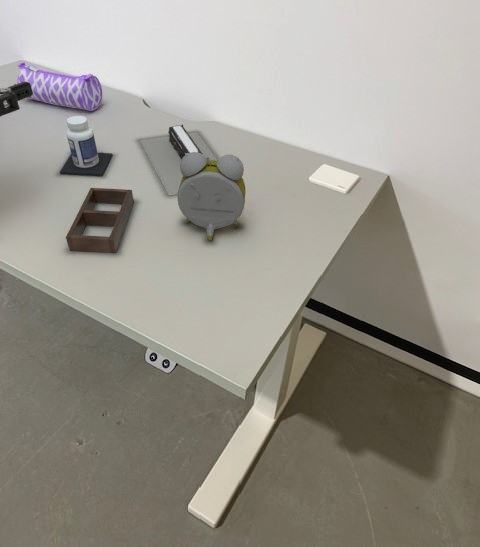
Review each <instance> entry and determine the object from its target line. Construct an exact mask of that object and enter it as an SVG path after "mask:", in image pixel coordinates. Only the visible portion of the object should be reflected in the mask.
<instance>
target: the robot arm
mask: <svg viewBox="0 0 480 547" xmlns="http://www.w3.org/2000/svg"><path fill="white" fill-rule="evenodd" d="M15 84H16V85H14V84H13V85H10V86H7V87H1V88H0V117H3V116H6V115H8V114H11V113H14V112H17V111H19V110H20V105H19V102H20V101H22V100H24V99H27V97H30V96H32V95H33V91H32V88H31V85H30V83H29V82H26V81H24V82H21V83H19V84H18V83H15Z"/></svg>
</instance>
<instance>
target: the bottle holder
mask: <svg viewBox="0 0 480 547" xmlns="http://www.w3.org/2000/svg"><path fill="white" fill-rule="evenodd" d="M133 195H134V194H133V190H132V189H126V188H125V189H122V188H107V187H105V188H103V187H90V188H89V190H88V192H87V194H86V196H85V198H84V200H83V202H82V203H81V206H80V208H79V210H78V212H77V214H76V216H75V218H74V220H73V222H72V223H71V226H70V228H69V230H68V232H67V234H66V236H65V241H66V243H67V246H68V249H69V251H70V252H87V253H88V252H89V253H108V254H110V253H112V254H117V251H118V250H119V249H118V248H119V245H120V243H121V240H122V237H123V234H124V231H125V228H126V226H127V223H128V220H129V217H130V214H131V212H132V210H133V206H134V203H135V202H134V196H133ZM97 204H110V205H111V204H112V205H121V207H120V208H119V211H118V210H117V211H116V210H100V209H99V210H97V209H95V207H96V205H97ZM86 226H91V227H112V229H111V232H110V235H109V236H105V235H83V233H84V230H85V228H86Z"/></svg>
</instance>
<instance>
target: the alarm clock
mask: <svg viewBox="0 0 480 547" xmlns="http://www.w3.org/2000/svg"><path fill="white" fill-rule="evenodd" d="M180 169H181V173H182V175H183V177H182V180H181V183H180V186H179V190H178V194H177V204H178V208H179V210H180V211H181V213H182V214H183V216H184V217H185V218H186V219H185V223H187V224H189V223H193V225H196V226H198V227H202V228H205V229H206V234H207V236H206V237H207V240H208V241H213V238H214V233H215V230H216V229H222V228H225V227H228V226H231V225H232V224H233V225H234V226H235V227H236V228H237V227H240V223H239V220H238V219H239V218H240V217H241V215H242V213H243V210H244V207H245V201H246V194H247V193H246V192H247V191H246V184H245V180H244V178H243V175H244V171H245V167H244V164H243V161H242V160H241V159H240V158H239V156H236V155H234V154H225V155H221V156H220V157H219V158H218V159H217V160H214V159H209V157H207V158H206V157H205V156H204V155H203V154H201V153H198V152H191V153H186V154H185V156H184V157H183V159H182V160H181V163H180Z"/></svg>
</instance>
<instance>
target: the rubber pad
mask: <svg viewBox="0 0 480 547" xmlns="http://www.w3.org/2000/svg"><path fill="white" fill-rule="evenodd" d="M98 157H99V162H98V164H96V165H95V166H93V167H90V168H80V167H77V166H76V165H75V164H74V162H73V158H72V155H71V154H69V156H68V158H67V159H66V161H65V162H64V163H63V166H62V167H61V169H60V171H59V174H60V175H68V176H69V175H70V176H89V177H90V176H91V177H104V174H105V172H106V170H107V168H108V166H109V163H110V162H111V161H112V158H113V153H111V152H98Z"/></svg>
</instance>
